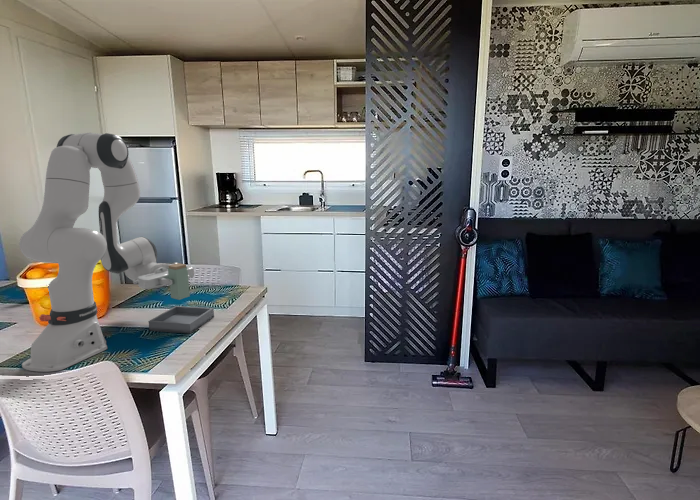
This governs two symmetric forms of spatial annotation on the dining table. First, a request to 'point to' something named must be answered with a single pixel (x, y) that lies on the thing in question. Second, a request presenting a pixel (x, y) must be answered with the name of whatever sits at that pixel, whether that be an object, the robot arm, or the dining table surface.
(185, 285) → the spice jar
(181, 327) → the bin
